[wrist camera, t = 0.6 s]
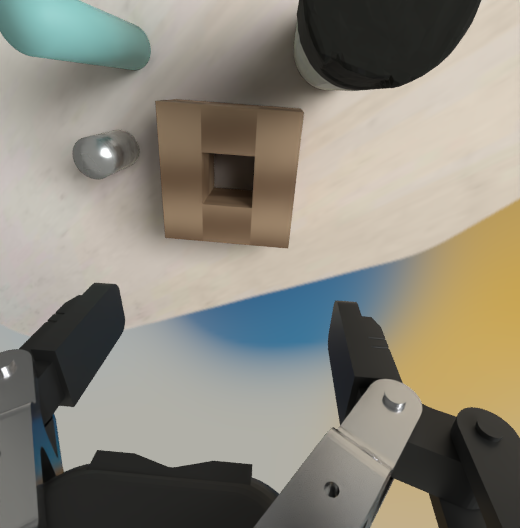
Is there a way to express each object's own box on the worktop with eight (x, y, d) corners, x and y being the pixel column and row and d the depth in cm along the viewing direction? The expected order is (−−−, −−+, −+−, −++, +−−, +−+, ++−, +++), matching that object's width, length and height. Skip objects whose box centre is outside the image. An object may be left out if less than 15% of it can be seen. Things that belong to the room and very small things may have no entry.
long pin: (108, 21, 30) (-17, -28, 17) (148, 24, 30) (50, -23, 17) (114, 68, 31) (3, 54, 19) (152, 71, 31) (65, 59, 19)
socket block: (176, 99, 32) (155, 101, 27) (300, 108, 32) (303, 112, 27) (181, 216, 38) (165, 237, 32) (287, 225, 37) (288, 248, 32)
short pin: (102, 128, 34) (68, 135, 29) (137, 131, 34) (110, 138, 29) (107, 164, 36) (76, 177, 30) (140, 167, 36) (115, 180, 30)
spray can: (349, 101, 31) (433, 115, 14) (281, 76, 31) (277, 56, 13) (382, 17, 28) (547, -103, 11) (308, -12, 28) (350, -192, 10)
